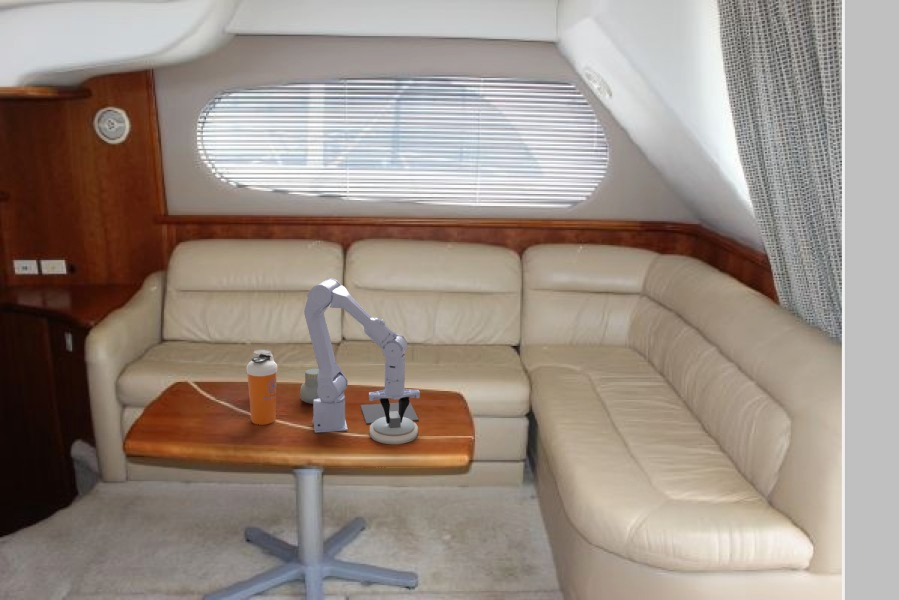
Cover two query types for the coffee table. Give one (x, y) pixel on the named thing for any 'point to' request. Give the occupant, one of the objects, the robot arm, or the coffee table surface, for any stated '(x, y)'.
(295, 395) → the coffee table surface
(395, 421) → the lid
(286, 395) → the coffee table surface
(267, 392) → the shaker bottle
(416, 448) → the coffee table surface
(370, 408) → the mat
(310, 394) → the air freshener
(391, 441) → the dish
